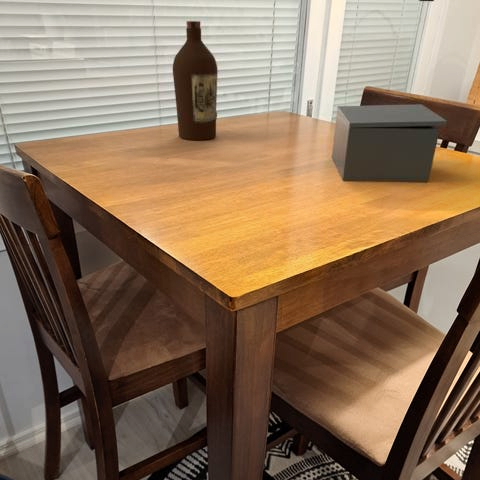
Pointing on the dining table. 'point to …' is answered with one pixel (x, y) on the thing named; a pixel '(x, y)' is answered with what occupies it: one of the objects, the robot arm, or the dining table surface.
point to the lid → (389, 116)
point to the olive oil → (195, 87)
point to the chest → (384, 152)
